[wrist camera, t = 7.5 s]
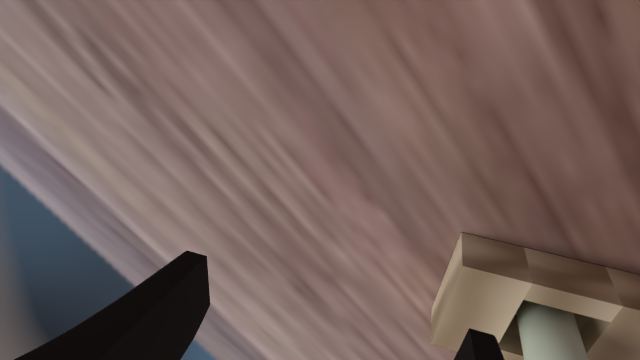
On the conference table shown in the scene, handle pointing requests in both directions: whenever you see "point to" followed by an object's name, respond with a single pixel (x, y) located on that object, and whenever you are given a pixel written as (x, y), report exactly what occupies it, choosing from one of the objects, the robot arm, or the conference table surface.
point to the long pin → (549, 333)
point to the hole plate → (534, 298)
